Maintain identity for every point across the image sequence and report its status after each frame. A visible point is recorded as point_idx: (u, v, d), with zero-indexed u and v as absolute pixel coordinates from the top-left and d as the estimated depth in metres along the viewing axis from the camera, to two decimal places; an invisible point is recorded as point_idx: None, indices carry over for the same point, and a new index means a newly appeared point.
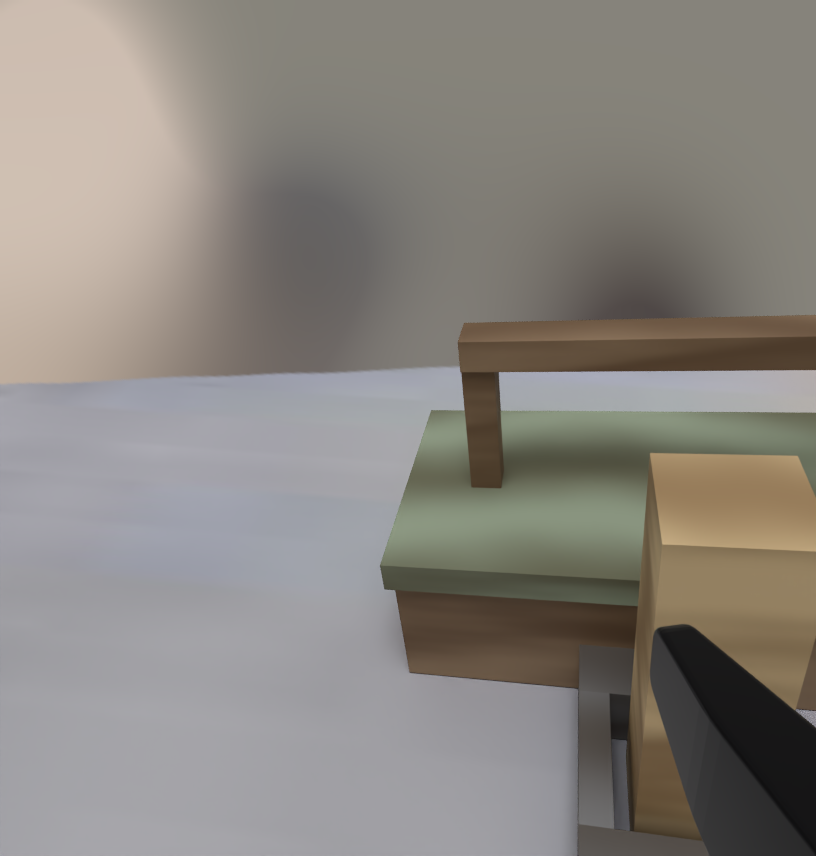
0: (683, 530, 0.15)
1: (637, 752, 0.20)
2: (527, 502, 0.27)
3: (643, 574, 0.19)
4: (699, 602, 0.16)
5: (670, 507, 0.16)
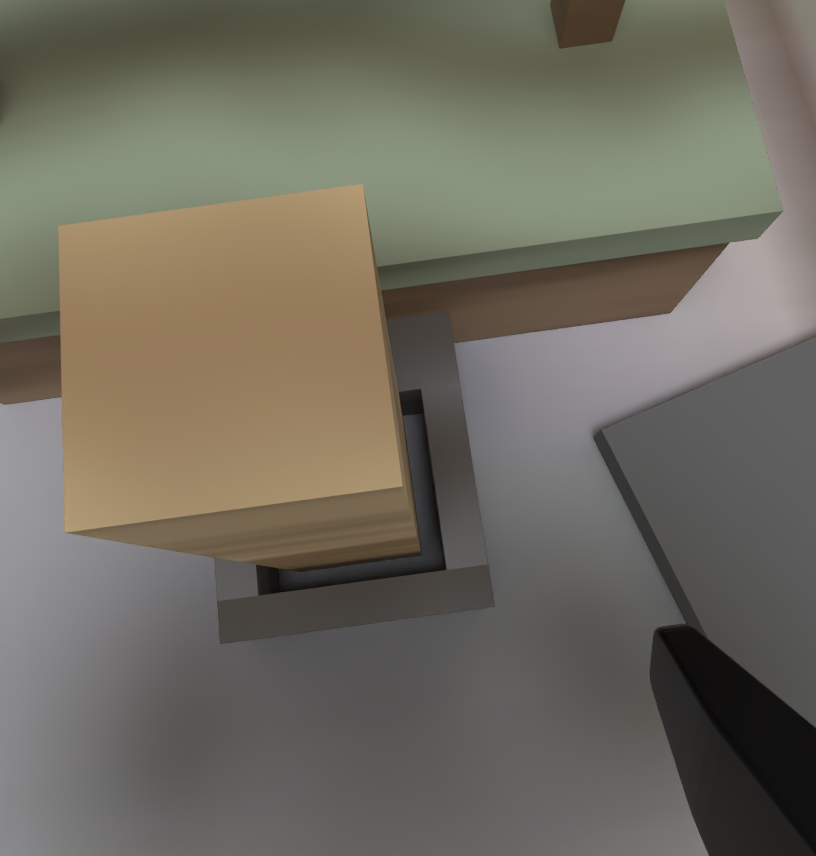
0: (110, 478, 0.07)
1: None
2: (48, 152, 0.16)
3: None
4: (206, 534, 0.09)
5: (89, 408, 0.07)
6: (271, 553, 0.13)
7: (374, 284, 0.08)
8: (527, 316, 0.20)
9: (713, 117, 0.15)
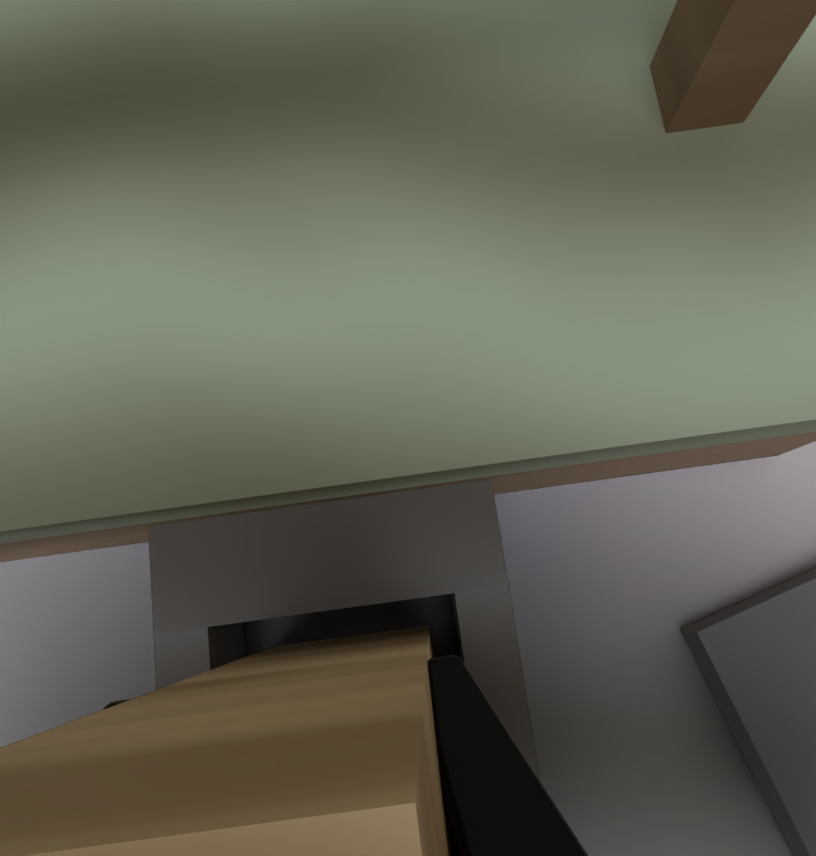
0: None
1: None
2: None
3: None
4: None
5: None
6: None
7: None
8: (595, 472, 0.15)
9: None
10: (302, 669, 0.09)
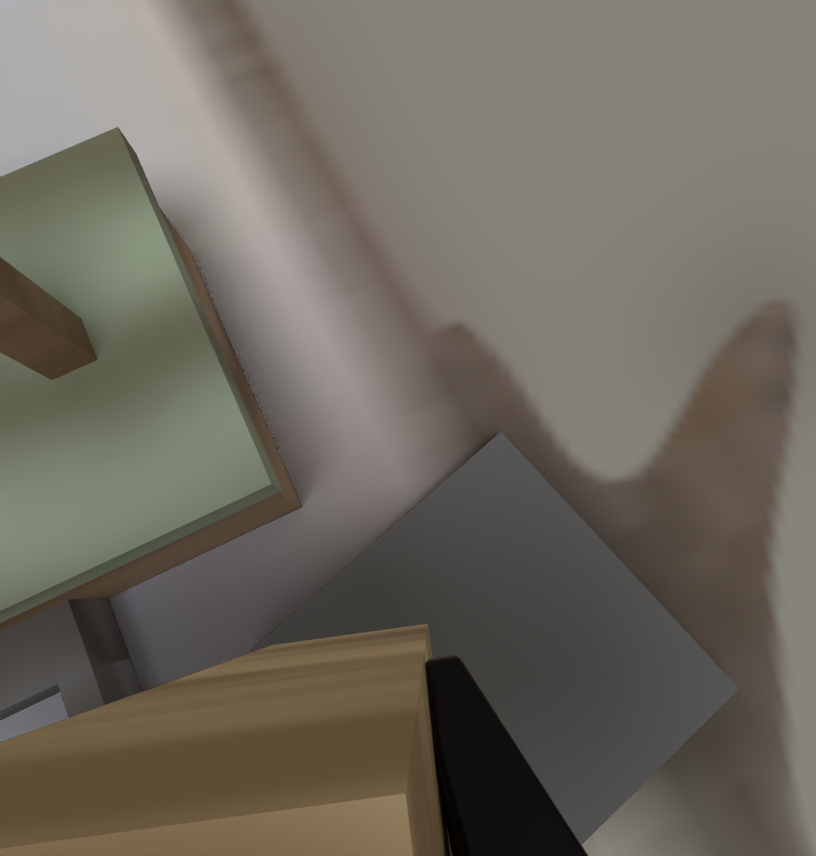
0: None
1: None
2: None
3: None
4: None
5: None
6: None
7: None
8: (158, 565, 0.21)
9: (198, 410, 0.17)
10: (299, 667, 0.09)
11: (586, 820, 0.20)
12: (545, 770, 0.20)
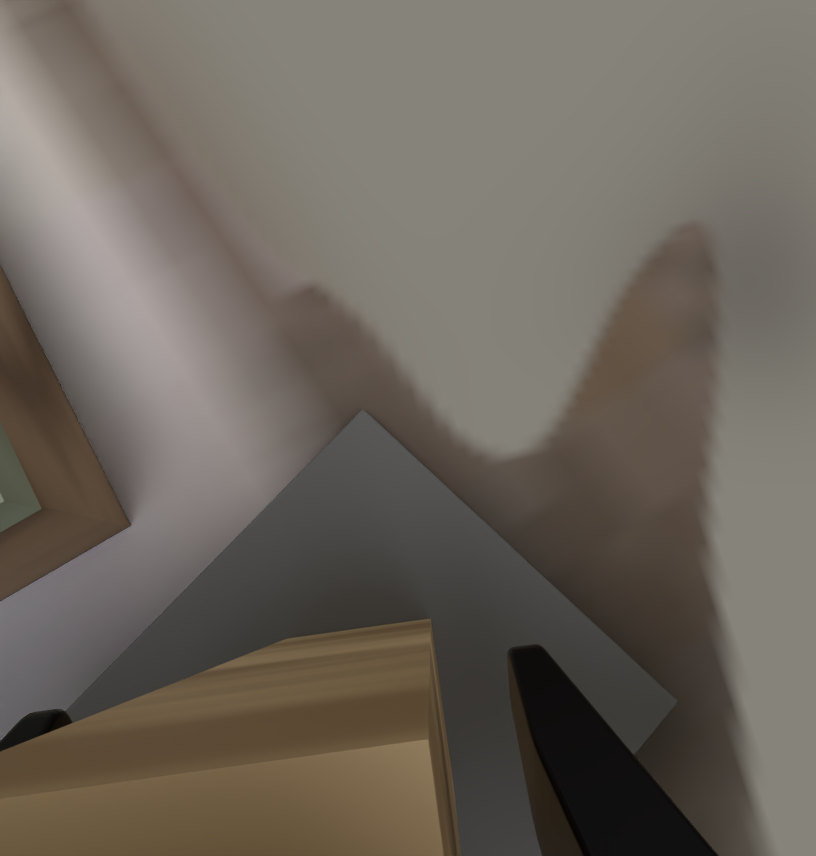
0: None
1: None
2: None
3: None
4: None
5: None
6: None
7: None
8: None
9: None
10: (320, 657, 0.10)
11: None
12: None
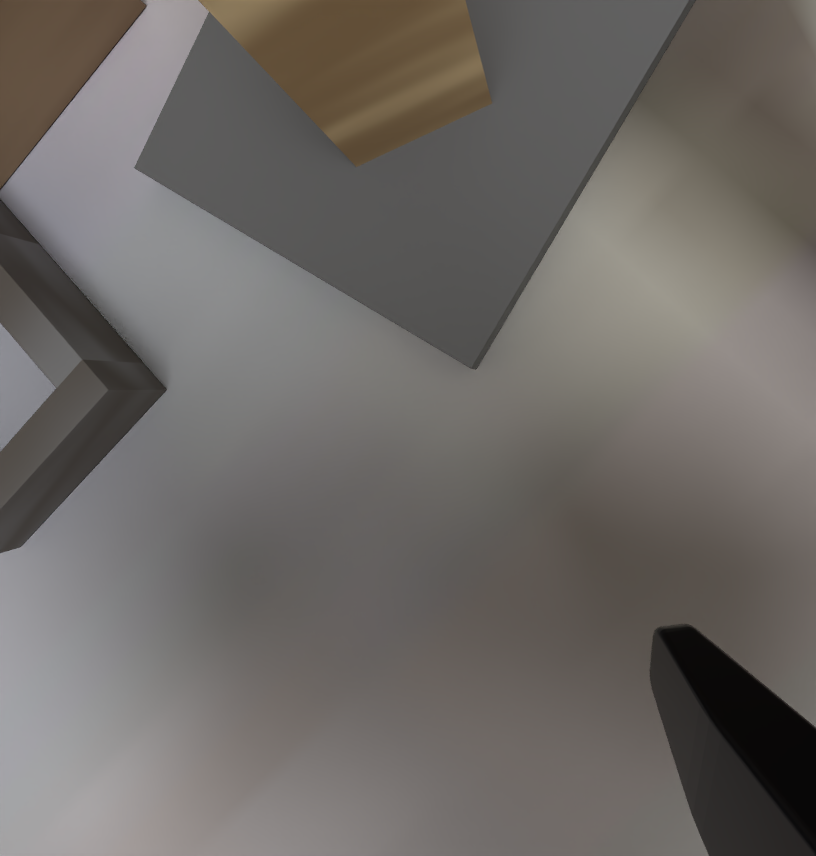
0: None
1: None
2: None
3: None
4: None
5: None
6: None
7: None
8: (6, 115, 0.18)
9: None
10: None
11: (557, 192, 0.16)
12: (493, 157, 0.16)
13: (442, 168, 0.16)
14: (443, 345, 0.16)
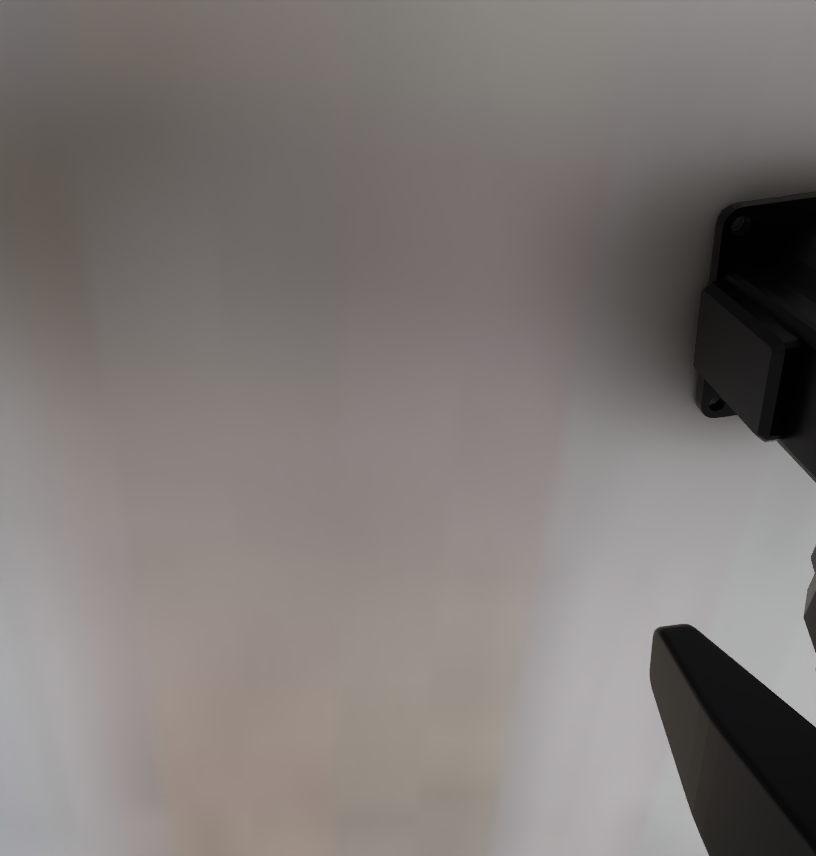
0: None
1: None
2: None
3: None
4: None
5: None
6: None
7: None
8: None
9: None
10: None
11: None
12: None
13: None
14: None
